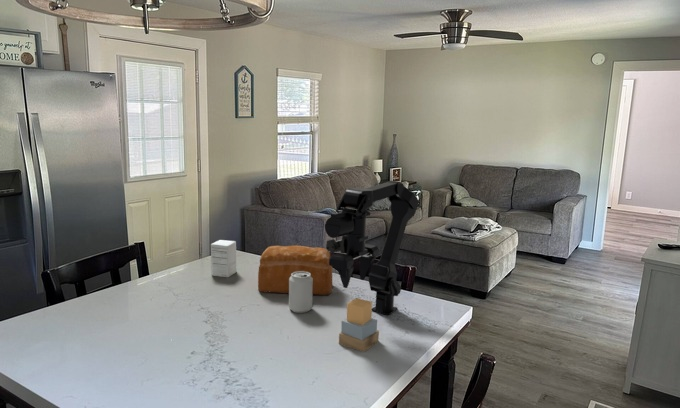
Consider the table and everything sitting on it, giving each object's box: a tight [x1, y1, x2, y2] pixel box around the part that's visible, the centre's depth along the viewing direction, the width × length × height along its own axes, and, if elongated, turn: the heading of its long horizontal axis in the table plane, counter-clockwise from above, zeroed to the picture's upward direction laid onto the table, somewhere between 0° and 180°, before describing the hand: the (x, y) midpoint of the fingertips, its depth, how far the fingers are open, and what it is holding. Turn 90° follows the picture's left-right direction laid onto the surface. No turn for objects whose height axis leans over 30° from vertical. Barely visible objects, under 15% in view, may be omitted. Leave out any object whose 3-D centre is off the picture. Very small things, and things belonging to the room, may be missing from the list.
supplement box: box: [210, 239, 238, 278], centre depth 193 cm, size 7×7×13 cm
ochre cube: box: [346, 297, 373, 325], centre depth 137 cm, size 5×5×5 cm
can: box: [288, 271, 313, 314], centre depth 160 cm, size 8×8×12 cm
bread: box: [257, 245, 333, 296], centre depth 179 cm, size 14×26×16 cm, turn 86°
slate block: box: [340, 317, 378, 340], centre depth 137 cm, size 7×7×4 cm
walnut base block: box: [338, 329, 380, 353], centre depth 138 cm, size 8×8×4 cm
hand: (353, 283), depth 147 cm, fingers open, 9 cm apart
